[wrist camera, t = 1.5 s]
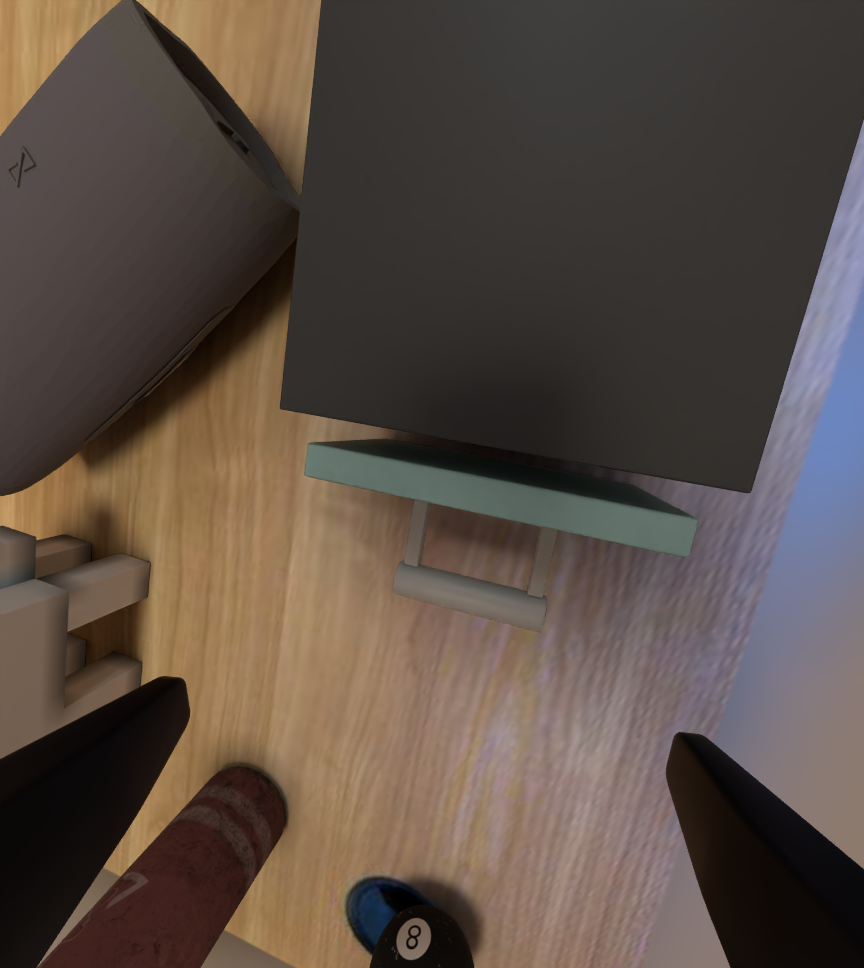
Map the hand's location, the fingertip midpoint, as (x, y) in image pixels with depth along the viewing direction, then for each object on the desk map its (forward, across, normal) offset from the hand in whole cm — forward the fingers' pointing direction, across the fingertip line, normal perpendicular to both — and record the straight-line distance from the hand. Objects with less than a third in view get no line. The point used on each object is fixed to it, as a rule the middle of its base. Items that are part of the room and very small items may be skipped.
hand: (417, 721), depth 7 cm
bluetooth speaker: (+19, +18, -8) cm, 27 cm away
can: (+14, +13, +23) cm, 30 cm away
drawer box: (+16, -4, -12) cm, 21 cm away
